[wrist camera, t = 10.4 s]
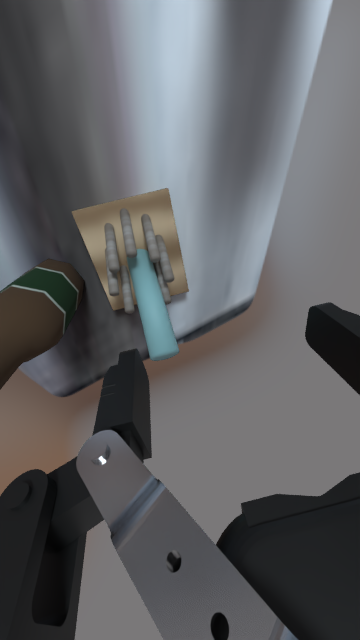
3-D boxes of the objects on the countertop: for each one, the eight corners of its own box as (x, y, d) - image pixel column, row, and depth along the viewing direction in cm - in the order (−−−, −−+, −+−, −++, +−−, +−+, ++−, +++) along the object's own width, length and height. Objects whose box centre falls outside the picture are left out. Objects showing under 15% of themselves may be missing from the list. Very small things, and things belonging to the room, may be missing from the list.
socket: (77, 209, 29) (54, 217, 21) (165, 188, 29) (175, 188, 22) (115, 302, 37) (108, 333, 29) (185, 284, 37) (197, 310, 29)
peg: (123, 252, 28) (147, 355, 22) (147, 246, 28) (178, 346, 23) (130, 268, 31) (153, 362, 25) (152, 262, 31) (180, 354, 25)
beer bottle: (77, 253, 32) (-35, 369, 12) (92, 301, 36) (30, 450, 16) (20, 260, 31) (-204, 396, 11) (43, 308, 35) (-90, 473, 15)
